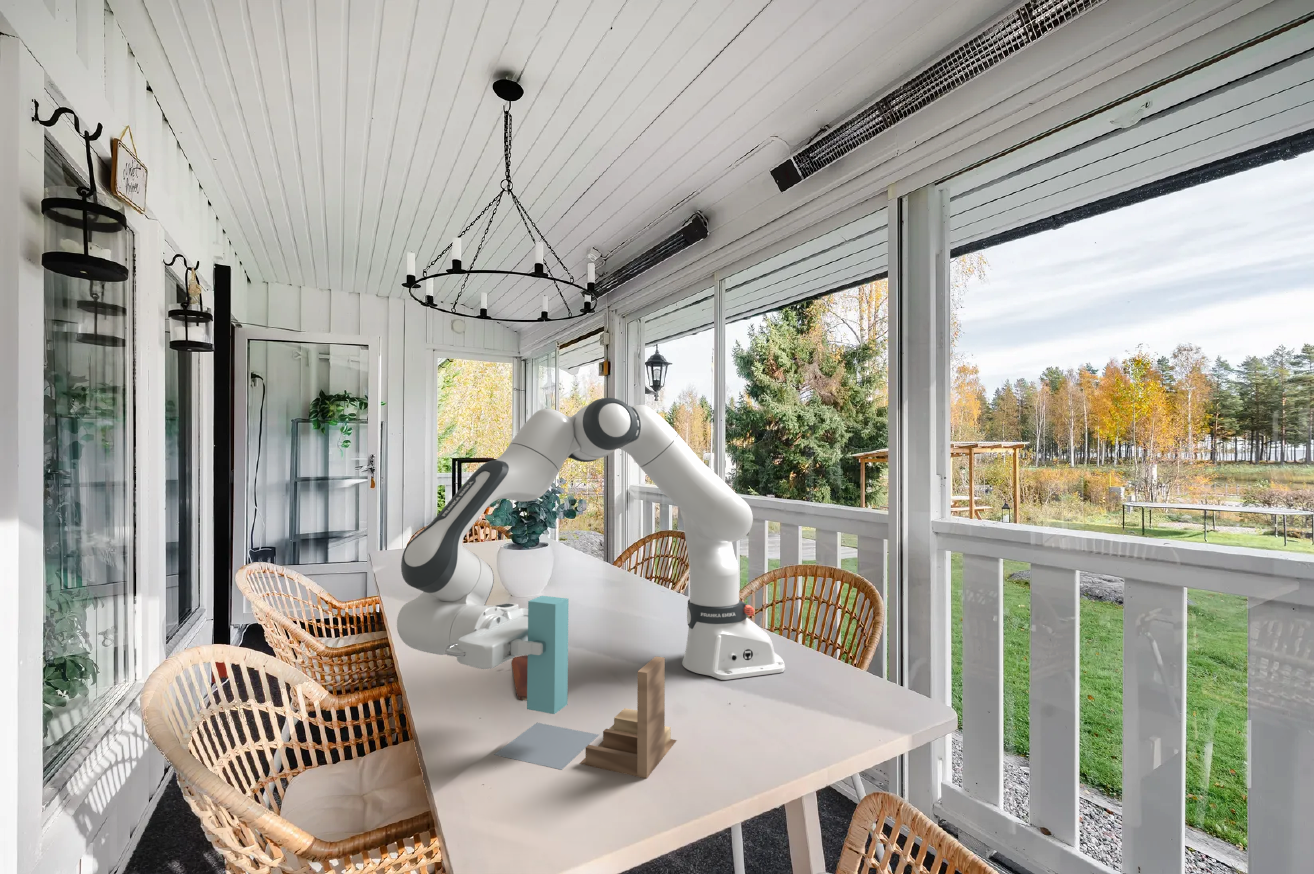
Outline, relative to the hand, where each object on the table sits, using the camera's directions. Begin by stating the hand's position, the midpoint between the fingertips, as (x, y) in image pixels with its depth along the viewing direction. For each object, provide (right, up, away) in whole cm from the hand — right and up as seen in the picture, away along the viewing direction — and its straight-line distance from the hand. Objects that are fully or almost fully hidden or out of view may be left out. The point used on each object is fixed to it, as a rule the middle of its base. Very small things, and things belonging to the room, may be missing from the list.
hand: (552, 643), depth 99 cm
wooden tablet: (-9, -19, +33) cm, 39 cm away
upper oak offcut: (+14, -14, +1) cm, 20 cm away
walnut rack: (+12, -17, -2) cm, 21 cm away
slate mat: (-1, -17, 0) cm, 17 cm away
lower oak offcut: (+14, -16, +1) cm, 21 cm away
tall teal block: (-1, -10, 0) cm, 10 cm away
